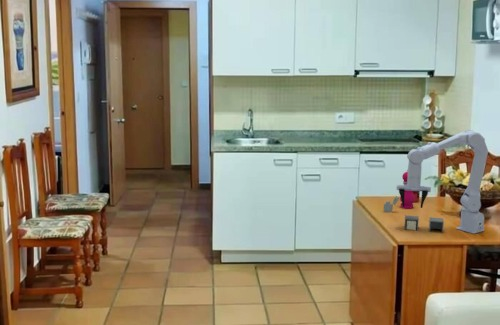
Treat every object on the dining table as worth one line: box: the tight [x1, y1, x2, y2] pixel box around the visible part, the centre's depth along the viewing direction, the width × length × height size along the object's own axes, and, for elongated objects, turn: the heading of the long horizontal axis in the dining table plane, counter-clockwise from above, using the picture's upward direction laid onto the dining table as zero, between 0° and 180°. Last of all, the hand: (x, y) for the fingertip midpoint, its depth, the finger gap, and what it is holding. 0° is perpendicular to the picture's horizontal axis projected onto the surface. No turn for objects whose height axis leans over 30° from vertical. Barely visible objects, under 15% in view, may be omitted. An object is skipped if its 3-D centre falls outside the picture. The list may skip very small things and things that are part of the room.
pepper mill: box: [399, 169, 415, 210], centre depth 301 cm, size 7×7×20 cm
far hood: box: [403, 214, 420, 231], centre depth 266 cm, size 6×6×5 cm
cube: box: [406, 220, 417, 231], centre depth 266 cm, size 4×4×4 cm
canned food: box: [412, 191, 421, 204], centre depth 316 cm, size 8×8×11 cm
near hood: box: [428, 217, 445, 234], centre depth 263 cm, size 6×6×5 cm
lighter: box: [383, 196, 400, 213], centre depth 293 cm, size 7×2×8 cm, turn 86°
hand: (412, 206), depth 264 cm, fingers open, 7 cm apart
